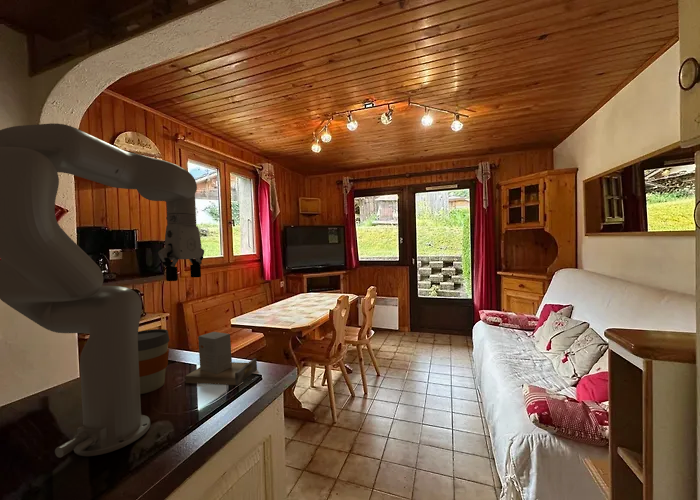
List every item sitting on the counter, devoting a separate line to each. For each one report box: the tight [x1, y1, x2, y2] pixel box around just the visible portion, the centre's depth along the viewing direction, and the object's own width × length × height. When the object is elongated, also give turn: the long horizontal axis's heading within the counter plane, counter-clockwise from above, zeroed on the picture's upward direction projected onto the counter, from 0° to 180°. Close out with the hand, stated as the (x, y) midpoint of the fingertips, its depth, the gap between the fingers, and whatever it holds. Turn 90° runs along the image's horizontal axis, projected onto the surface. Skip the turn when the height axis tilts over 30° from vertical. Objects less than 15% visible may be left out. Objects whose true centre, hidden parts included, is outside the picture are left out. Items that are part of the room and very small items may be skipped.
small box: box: [197, 331, 233, 374], centre depth 92 cm, size 8×6×10 cm
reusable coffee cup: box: [138, 328, 170, 395], centre depth 86 cm, size 13×13×15 cm
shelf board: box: [184, 358, 258, 386], centre depth 91 cm, size 11×17×4 cm, turn 80°
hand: (184, 279), depth 89 cm, fingers open, 9 cm apart
